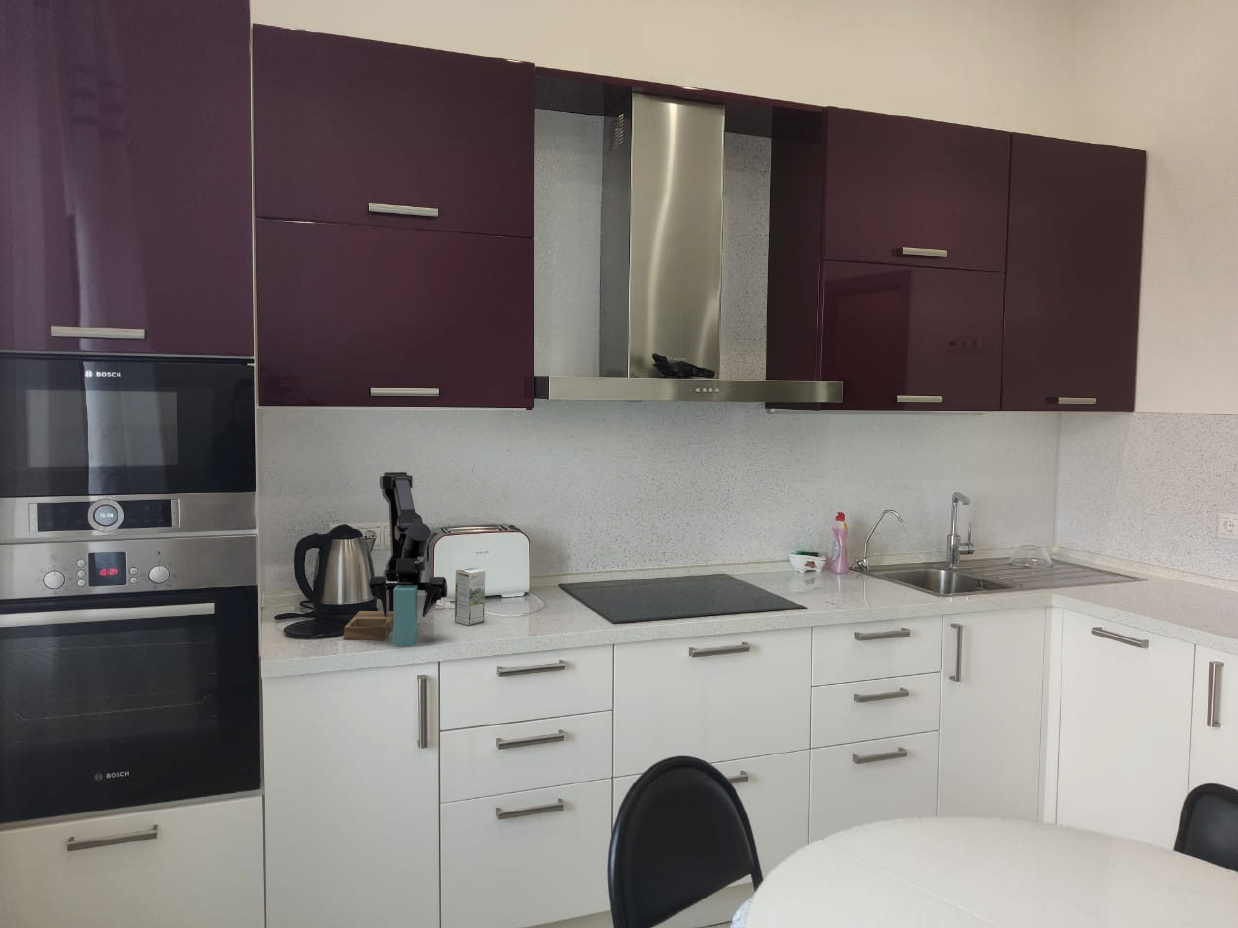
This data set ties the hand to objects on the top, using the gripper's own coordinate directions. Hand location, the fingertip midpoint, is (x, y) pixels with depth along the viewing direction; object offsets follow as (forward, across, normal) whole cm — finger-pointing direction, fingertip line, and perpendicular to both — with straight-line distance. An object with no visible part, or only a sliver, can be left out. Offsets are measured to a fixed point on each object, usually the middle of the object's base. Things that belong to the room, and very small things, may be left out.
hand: (404, 616), depth 227 cm
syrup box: (-10, +14, +21) cm, 27 cm away
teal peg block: (+4, 0, +6) cm, 7 cm away
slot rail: (-4, -11, +14) cm, 18 cm away
